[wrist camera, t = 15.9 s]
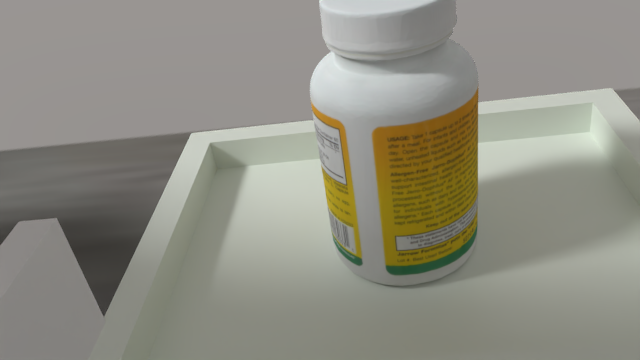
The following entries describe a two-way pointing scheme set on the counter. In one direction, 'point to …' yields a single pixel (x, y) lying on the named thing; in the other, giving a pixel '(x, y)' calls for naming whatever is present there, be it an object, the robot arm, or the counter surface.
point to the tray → (389, 300)
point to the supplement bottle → (397, 138)
